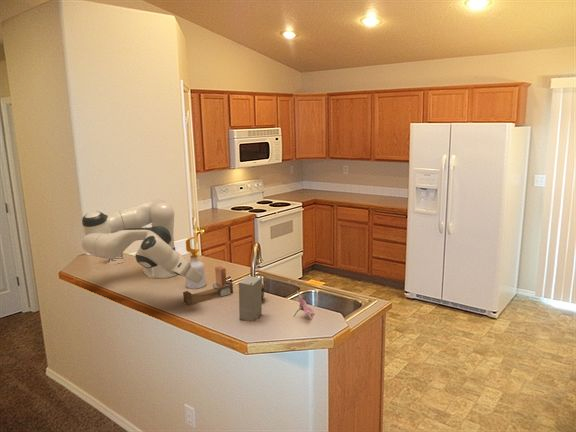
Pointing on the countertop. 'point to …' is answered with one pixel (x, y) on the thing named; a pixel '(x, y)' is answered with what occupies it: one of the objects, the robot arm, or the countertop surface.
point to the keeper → (221, 281)
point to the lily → (304, 306)
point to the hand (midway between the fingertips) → (197, 280)
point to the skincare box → (250, 298)
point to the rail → (203, 295)
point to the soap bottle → (195, 266)
